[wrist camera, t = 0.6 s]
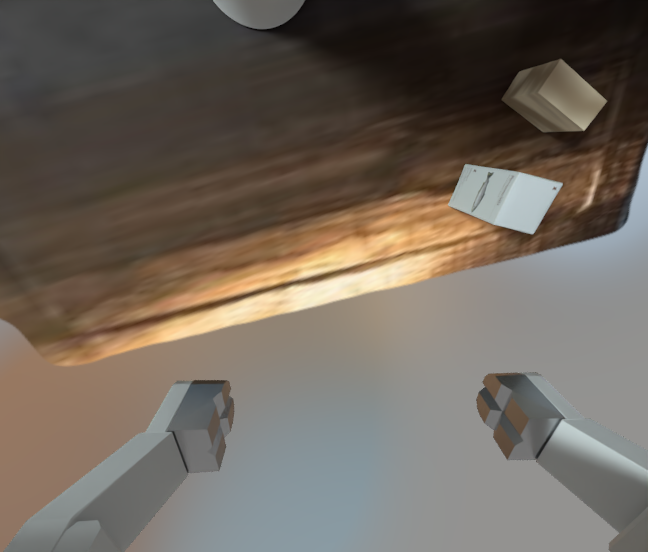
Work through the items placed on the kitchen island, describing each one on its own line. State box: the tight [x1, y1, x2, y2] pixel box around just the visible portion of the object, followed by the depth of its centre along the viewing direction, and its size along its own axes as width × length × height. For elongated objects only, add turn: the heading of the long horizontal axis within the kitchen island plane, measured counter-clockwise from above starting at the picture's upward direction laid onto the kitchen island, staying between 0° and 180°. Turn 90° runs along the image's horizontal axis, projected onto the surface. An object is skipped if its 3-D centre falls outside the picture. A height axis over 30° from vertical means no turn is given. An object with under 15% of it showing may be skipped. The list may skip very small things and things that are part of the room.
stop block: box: [501, 59, 607, 132], centre depth 39 cm, size 4×10×7 cm, turn 64°
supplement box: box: [448, 164, 563, 234], centre depth 42 cm, size 7×7×13 cm
